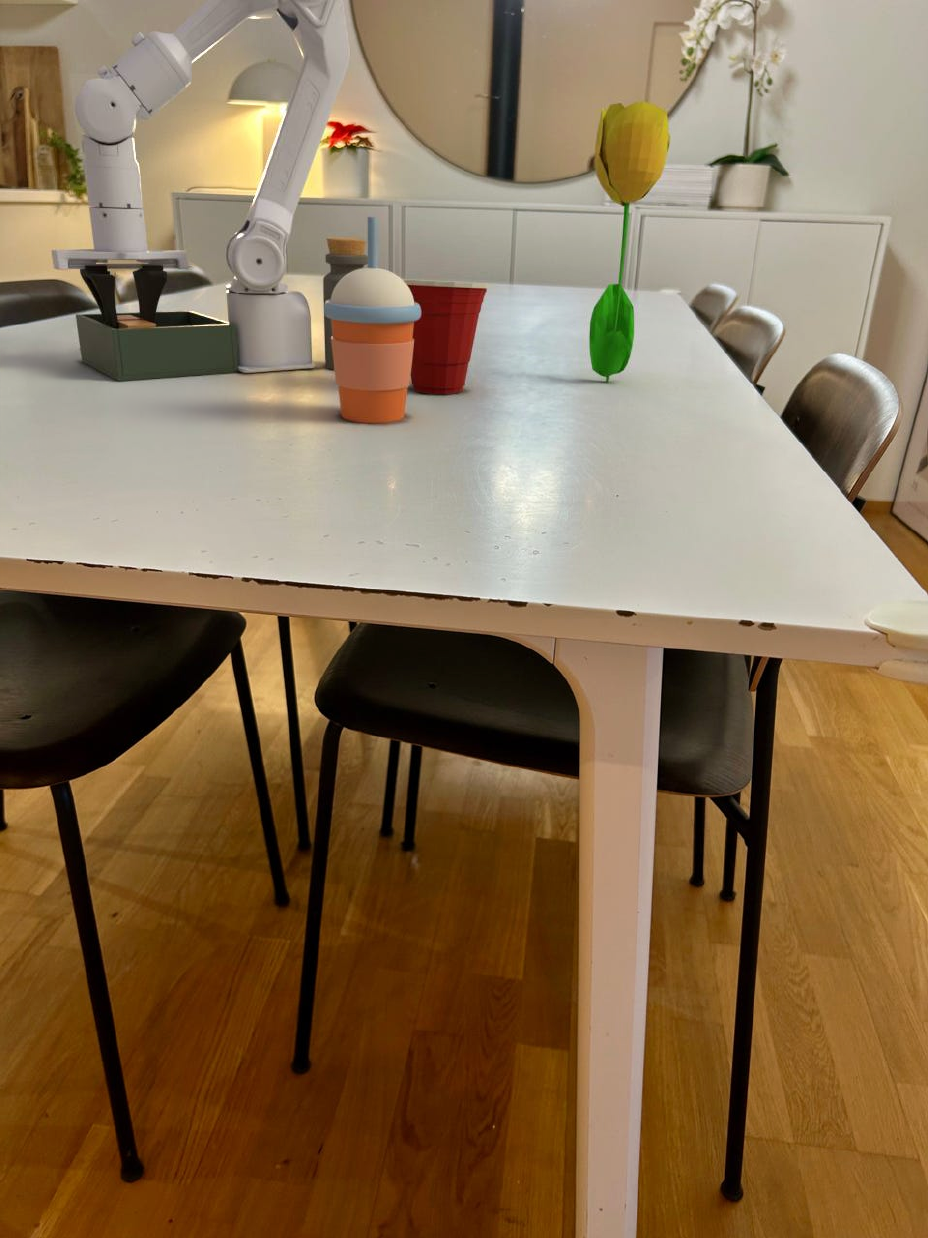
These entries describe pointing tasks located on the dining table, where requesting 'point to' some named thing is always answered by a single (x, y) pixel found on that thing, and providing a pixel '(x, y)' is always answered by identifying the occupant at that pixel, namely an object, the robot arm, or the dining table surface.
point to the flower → (627, 174)
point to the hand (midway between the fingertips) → (130, 335)
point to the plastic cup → (444, 333)
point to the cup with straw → (372, 340)
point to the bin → (159, 346)
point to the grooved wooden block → (133, 322)
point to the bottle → (340, 277)
